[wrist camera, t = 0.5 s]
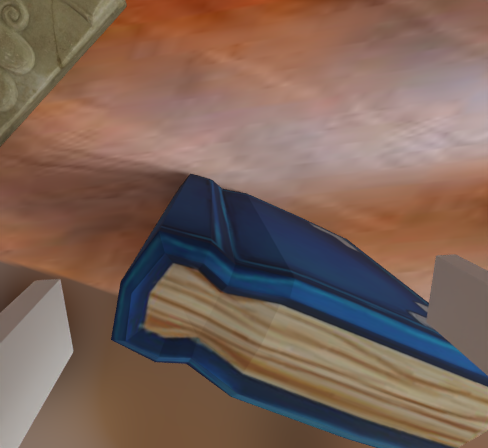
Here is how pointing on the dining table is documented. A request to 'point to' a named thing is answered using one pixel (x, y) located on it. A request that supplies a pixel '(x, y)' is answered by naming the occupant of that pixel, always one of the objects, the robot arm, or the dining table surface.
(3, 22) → the decorative tile
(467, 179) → the dining table surface
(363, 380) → the book
